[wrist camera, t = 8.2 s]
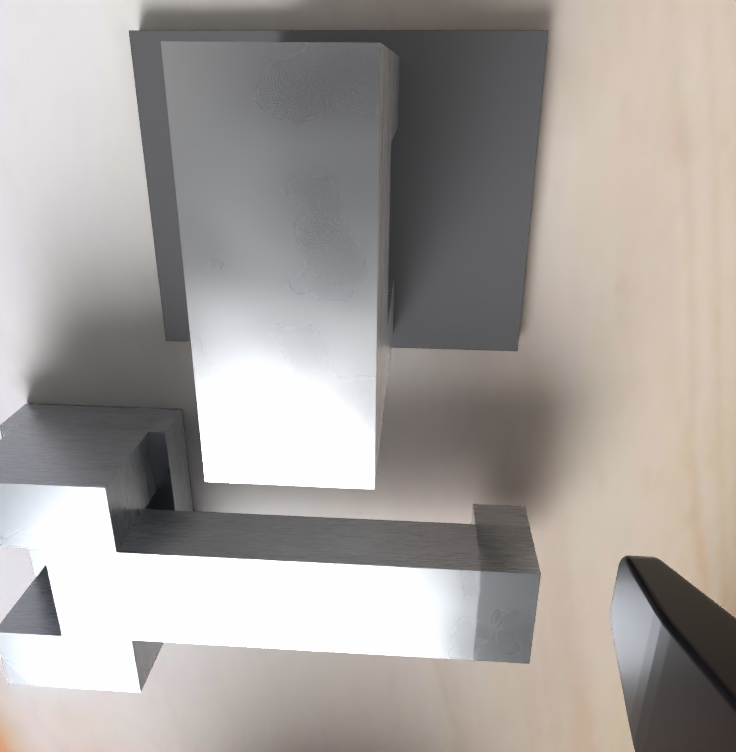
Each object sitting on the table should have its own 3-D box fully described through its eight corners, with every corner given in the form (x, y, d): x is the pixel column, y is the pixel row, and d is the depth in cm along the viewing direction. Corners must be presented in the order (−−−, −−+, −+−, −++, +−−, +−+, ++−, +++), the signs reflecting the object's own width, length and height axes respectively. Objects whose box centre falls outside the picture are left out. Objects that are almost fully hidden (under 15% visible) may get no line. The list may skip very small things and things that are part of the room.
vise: (524, 421, 21) (549, 507, 17) (505, 604, 24) (522, 716, 19) (25, 403, 22) (-67, 480, 18) (64, 581, 25) (-8, 682, 21)
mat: (544, 31, 17) (548, 30, 16) (515, 343, 20) (517, 350, 19) (138, 32, 17) (128, 30, 17) (172, 333, 21) (165, 340, 20)
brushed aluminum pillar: (399, 57, 17) (380, 42, 9) (393, 332, 19) (374, 490, 12) (275, 56, 17) (160, 41, 9) (286, 329, 20) (204, 482, 12)
